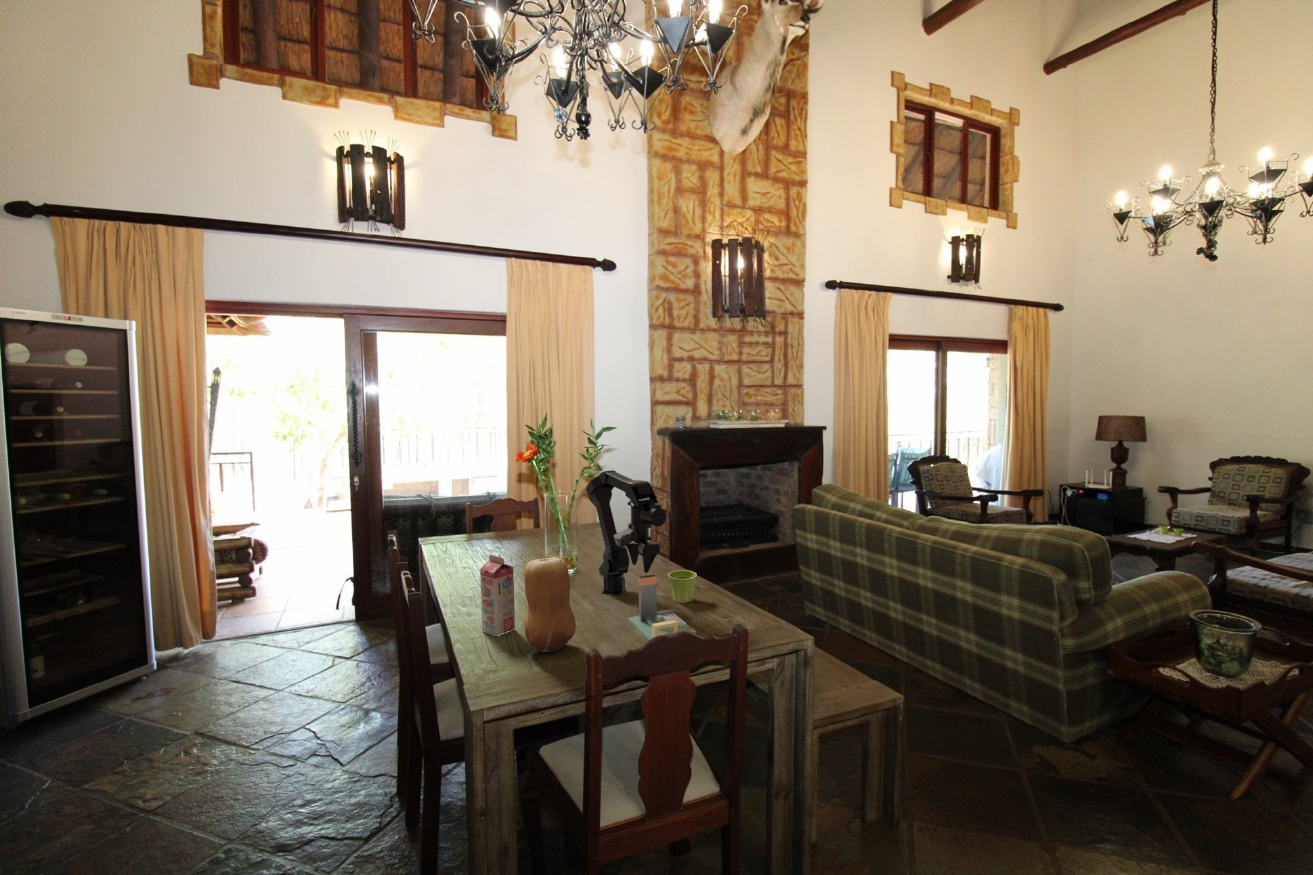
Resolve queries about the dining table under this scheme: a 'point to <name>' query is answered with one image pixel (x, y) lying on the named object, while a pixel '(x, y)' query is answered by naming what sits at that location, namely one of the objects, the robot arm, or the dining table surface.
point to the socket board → (649, 629)
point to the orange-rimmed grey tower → (649, 600)
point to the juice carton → (497, 596)
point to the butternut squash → (548, 604)
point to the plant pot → (682, 585)
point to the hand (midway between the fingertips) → (640, 568)
